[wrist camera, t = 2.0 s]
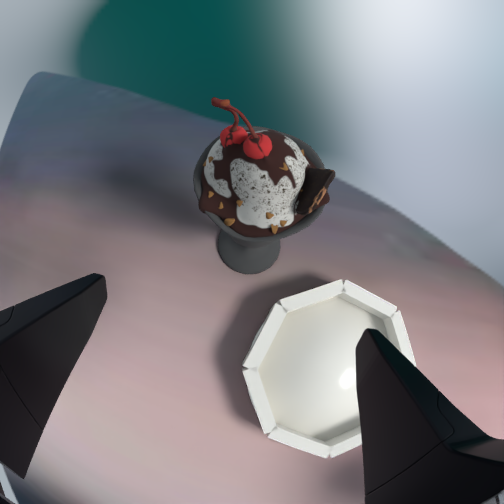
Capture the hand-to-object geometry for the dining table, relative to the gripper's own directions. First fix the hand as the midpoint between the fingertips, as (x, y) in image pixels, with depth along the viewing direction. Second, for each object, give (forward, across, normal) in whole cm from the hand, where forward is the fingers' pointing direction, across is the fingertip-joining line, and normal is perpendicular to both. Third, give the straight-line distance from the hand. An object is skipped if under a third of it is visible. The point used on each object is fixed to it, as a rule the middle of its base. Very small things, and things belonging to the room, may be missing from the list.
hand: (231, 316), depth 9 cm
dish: (+8, -8, +10) cm, 15 cm away
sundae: (+14, 0, +4) cm, 15 cm away
